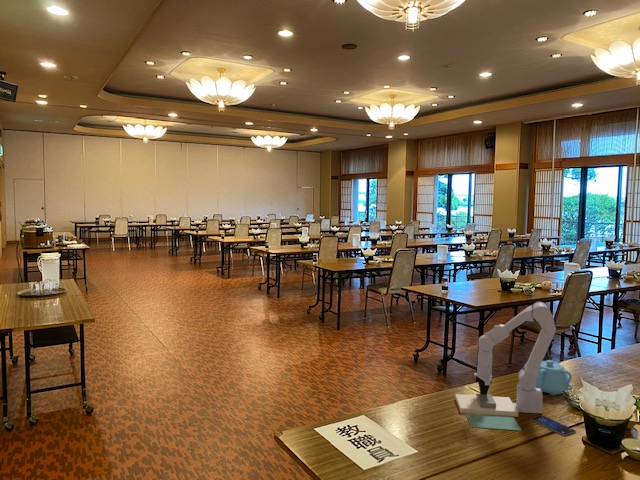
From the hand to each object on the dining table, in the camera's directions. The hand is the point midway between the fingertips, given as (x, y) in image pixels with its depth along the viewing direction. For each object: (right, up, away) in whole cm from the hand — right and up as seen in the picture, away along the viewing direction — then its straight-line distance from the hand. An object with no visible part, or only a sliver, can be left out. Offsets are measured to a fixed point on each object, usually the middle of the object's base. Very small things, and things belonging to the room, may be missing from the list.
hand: (483, 395), depth 203 cm
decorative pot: (+34, -2, +14) cm, 37 cm away
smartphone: (+19, -6, -20) cm, 28 cm away
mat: (-2, -5, -18) cm, 18 cm away
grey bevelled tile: (-1, -1, -5) cm, 5 cm away
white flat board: (-1, -3, -4) cm, 6 cm away
